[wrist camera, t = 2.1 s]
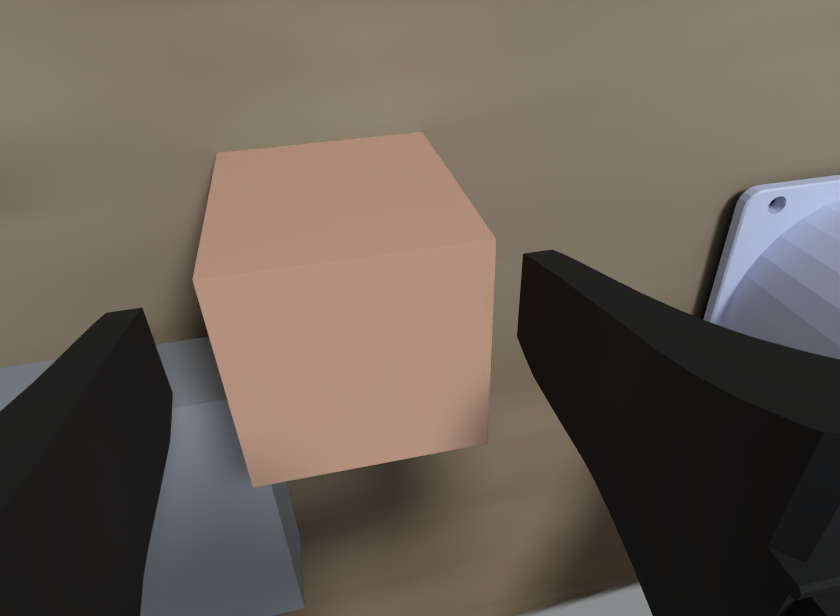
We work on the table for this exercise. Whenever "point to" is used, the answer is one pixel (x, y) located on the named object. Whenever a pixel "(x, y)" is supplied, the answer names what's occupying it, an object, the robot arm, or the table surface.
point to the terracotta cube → (346, 304)
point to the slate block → (207, 504)
